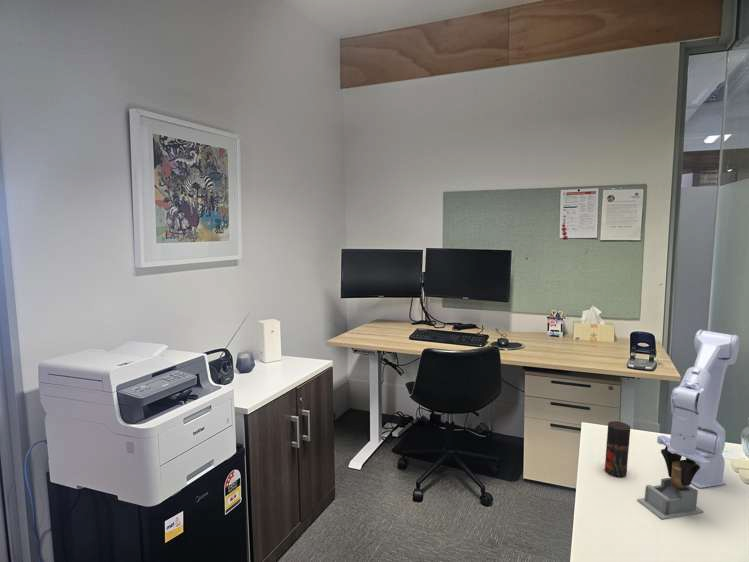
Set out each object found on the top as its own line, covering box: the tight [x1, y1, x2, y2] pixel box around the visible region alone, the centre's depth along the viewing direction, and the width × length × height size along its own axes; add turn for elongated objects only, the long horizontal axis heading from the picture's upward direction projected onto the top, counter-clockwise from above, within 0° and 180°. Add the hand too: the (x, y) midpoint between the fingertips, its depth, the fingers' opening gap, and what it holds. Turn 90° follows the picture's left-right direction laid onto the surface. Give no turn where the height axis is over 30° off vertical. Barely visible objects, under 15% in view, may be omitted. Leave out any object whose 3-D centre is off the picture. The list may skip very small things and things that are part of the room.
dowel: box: [670, 461, 687, 489], centre depth 129 cm, size 4×4×6 cm
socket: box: [636, 477, 704, 520], centre depth 129 cm, size 13×8×6 cm, turn 103°
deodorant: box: [604, 420, 631, 479], centre depth 145 cm, size 6×6×15 cm
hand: (679, 480), depth 129 cm, fingers closed on dowel, 4 cm apart
